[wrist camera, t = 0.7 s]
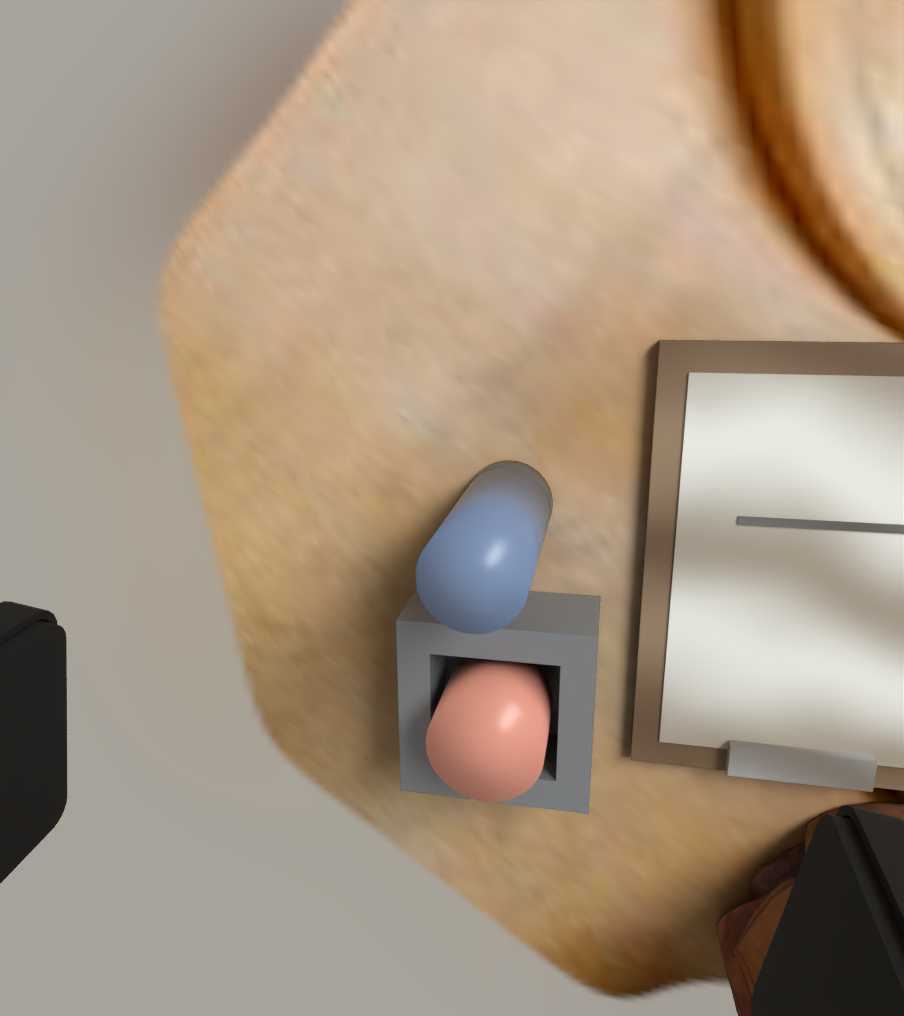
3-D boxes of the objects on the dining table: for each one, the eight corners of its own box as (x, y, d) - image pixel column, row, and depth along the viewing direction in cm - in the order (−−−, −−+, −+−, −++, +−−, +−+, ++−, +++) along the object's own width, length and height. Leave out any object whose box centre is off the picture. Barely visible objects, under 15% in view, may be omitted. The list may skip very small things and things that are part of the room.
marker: (551, 545, 29) (527, 638, 22) (467, 540, 30) (416, 629, 23) (554, 462, 29) (530, 530, 21) (467, 458, 29) (414, 523, 22)
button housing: (591, 757, 32) (588, 813, 28) (422, 738, 33) (400, 790, 30) (600, 596, 30) (597, 636, 26) (419, 583, 31) (396, 620, 28)
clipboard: (965, 788, 29) (979, 809, 28) (630, 751, 31) (631, 769, 30) (1059, 344, 24) (1080, 348, 23) (659, 339, 27) (660, 342, 25)
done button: (551, 749, 30) (542, 808, 26) (447, 737, 30) (426, 794, 27) (555, 653, 28) (546, 702, 25) (446, 643, 29) (424, 690, 26)
